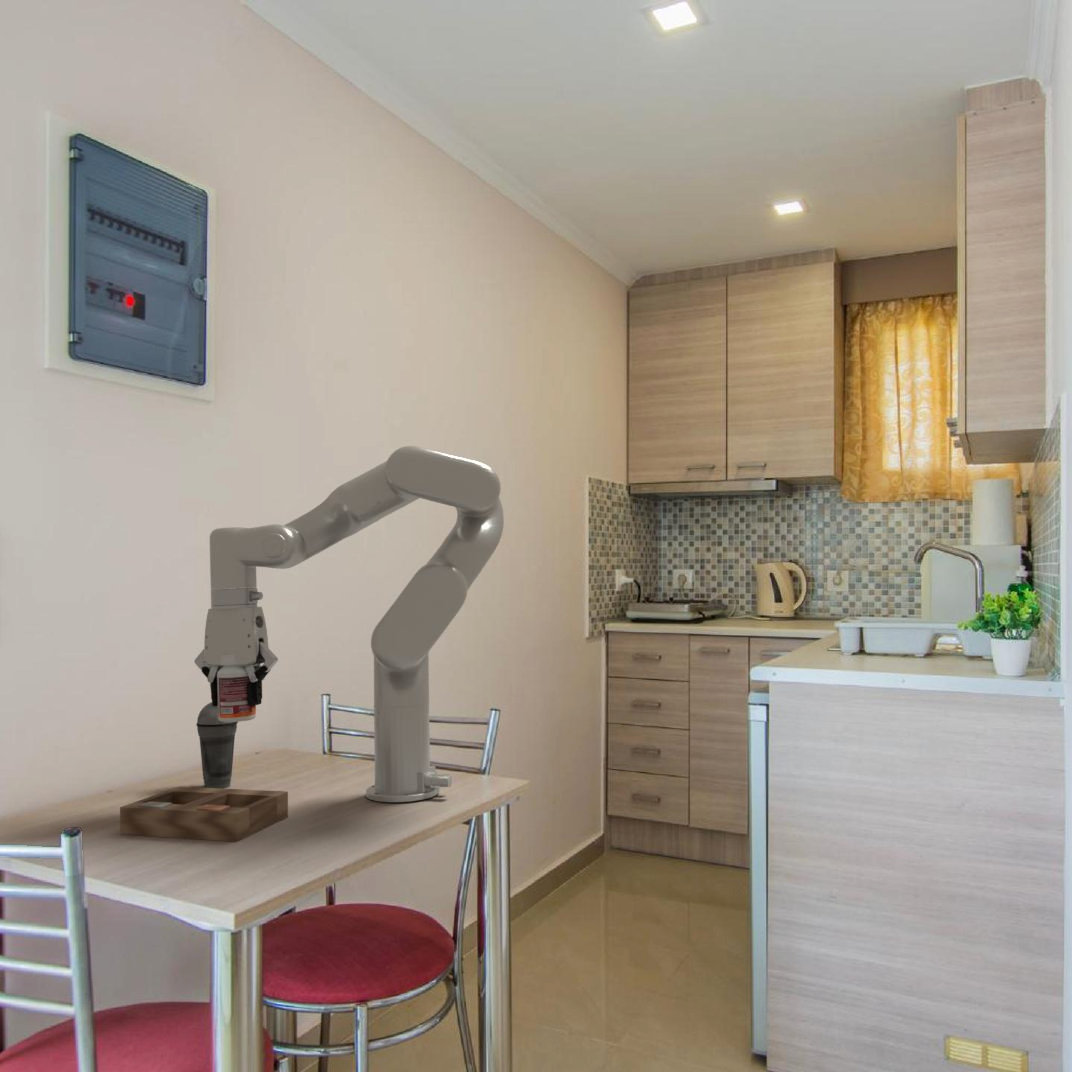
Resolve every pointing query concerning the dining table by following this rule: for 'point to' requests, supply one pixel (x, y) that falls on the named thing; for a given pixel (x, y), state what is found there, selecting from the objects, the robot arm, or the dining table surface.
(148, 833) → the socket board
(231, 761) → the beverage cup
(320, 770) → the dining table surface
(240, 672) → the pill bottle
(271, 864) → the dining table surface
